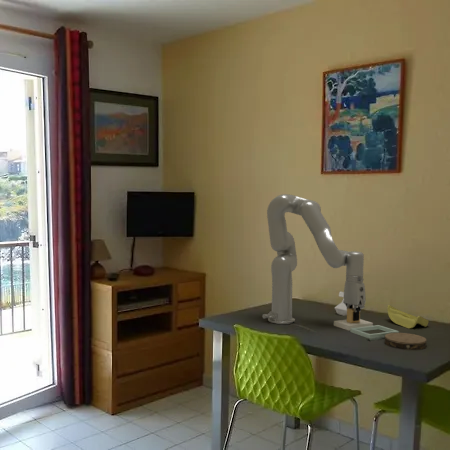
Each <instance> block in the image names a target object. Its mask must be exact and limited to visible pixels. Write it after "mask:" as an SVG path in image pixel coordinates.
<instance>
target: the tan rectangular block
mask: <svg viewBox="0 0 450 450" xmlns="http://www.w3.org/2000/svg"><path fill="white" fill-rule="evenodd" d="M353 312H354V308H348V309H347V315H346V320H347V322H348V323H359V322H360V319H361V311H360V312H359V320H358V321H353Z"/></svg>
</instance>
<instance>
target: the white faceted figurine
mask: <svg viewBox="0 0 450 450" xmlns="http://www.w3.org/2000/svg"><path fill="white" fill-rule="evenodd" d="M338 297H339V298H340V297H341V298H343V299H342V301H341V302H339V304H337V305H336V306H335V307H334V310H335V312H336V314H337V315H340V316H347V307H346V305H345V304H344V303H343V301H344V291H339V293H338ZM353 308H354V305H353Z"/></svg>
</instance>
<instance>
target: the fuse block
mask: <svg viewBox="0 0 450 450" xmlns="http://www.w3.org/2000/svg"><path fill="white" fill-rule="evenodd" d="M367 326H374V323H373V322H371V321H367V320H364V319H361V318H360V322H359V323H348V322H347V319H341V320H340V319H339V320H333V327H337V328H339V329H343V330H345V331H350V330H351V328H359V327H367Z"/></svg>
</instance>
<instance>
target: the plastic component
mask: <svg viewBox="0 0 450 450" xmlns="http://www.w3.org/2000/svg"><path fill="white" fill-rule="evenodd" d="M387 315H388V317H389V319H390V320H391V321H392V322H393V323H394V324H396V325H399V327H400V326H401V327H403V328H407V329H409V330H411V329H413V328H415V327H416V325H419V326H421V327H424V328H427V326H428V324H429V322H430V320H428V319H426V318H424V316H423V317H422V316H421V315H418V316H416V315H413V314H410V313H407V312H406V311H405V312H404V311H402V310H400V309H398V308H395V307H394V306H392V305H390V304H388V305H387Z"/></svg>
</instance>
